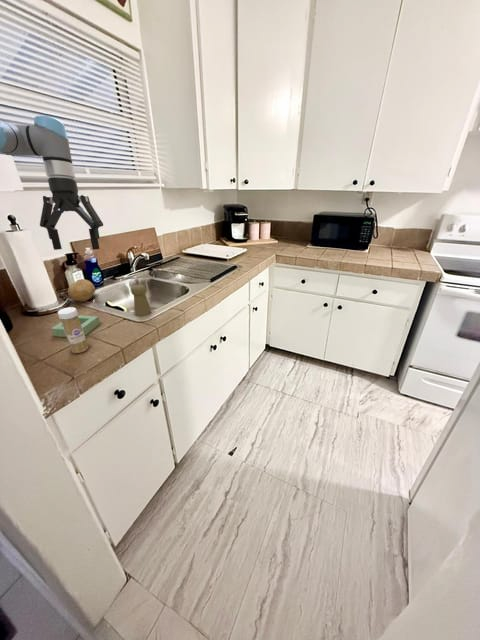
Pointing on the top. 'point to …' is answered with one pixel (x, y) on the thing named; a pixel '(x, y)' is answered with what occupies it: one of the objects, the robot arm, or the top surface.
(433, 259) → the top surface
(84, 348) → the sprinkles bottle
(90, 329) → the holder
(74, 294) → the potato
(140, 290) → the olive chess piece
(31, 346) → the top surface
